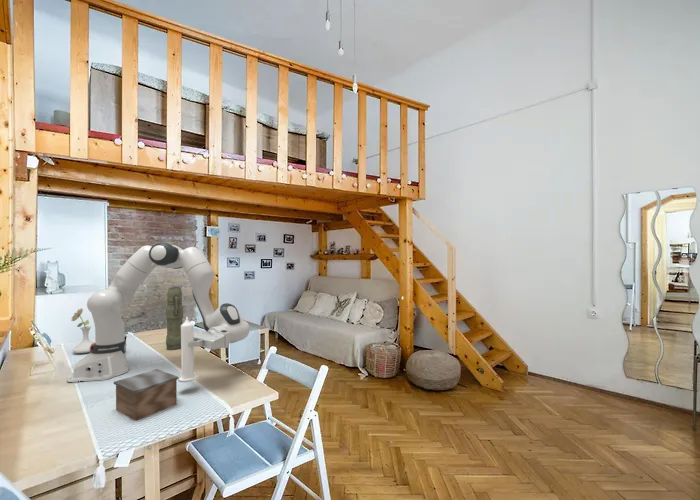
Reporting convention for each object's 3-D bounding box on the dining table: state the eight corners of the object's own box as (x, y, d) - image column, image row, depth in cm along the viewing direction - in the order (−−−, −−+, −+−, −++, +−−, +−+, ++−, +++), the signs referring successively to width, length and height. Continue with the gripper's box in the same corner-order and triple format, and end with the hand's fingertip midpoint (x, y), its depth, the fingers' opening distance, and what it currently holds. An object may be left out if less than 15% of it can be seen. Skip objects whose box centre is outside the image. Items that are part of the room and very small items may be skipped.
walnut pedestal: (134, 421, 111) (134, 391, 111) (113, 409, 119) (113, 381, 119) (178, 404, 124) (178, 376, 124) (157, 394, 132) (157, 369, 132)
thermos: (179, 344, 203) (179, 286, 203) (186, 348, 194) (186, 287, 194) (163, 347, 197) (163, 287, 196) (169, 351, 188) (169, 288, 188)
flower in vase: (86, 348, 194) (86, 305, 194) (103, 349, 193) (103, 305, 193) (64, 355, 181) (63, 309, 181) (82, 356, 180) (82, 309, 180)
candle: (184, 383, 130) (183, 318, 131) (174, 380, 134) (173, 317, 134) (201, 377, 136) (200, 315, 137) (190, 374, 140) (190, 314, 140)
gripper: (202, 326, 152) (171, 332, 140) (231, 332, 140) (201, 340, 129) (202, 340, 152) (171, 347, 140) (231, 348, 140) (200, 356, 129)
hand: (185, 344), depth 134 cm, fingers closed on candle, 3 cm apart
